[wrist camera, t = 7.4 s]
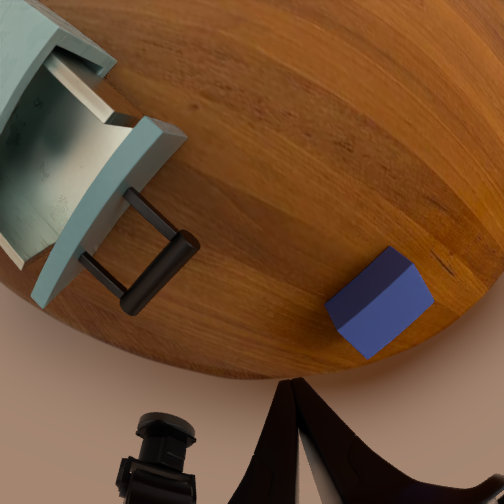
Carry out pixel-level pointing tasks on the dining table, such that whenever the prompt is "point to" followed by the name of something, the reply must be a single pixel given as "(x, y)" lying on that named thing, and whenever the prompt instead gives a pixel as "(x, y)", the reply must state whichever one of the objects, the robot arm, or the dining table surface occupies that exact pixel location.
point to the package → (379, 302)
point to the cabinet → (37, 48)
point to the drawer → (82, 180)
